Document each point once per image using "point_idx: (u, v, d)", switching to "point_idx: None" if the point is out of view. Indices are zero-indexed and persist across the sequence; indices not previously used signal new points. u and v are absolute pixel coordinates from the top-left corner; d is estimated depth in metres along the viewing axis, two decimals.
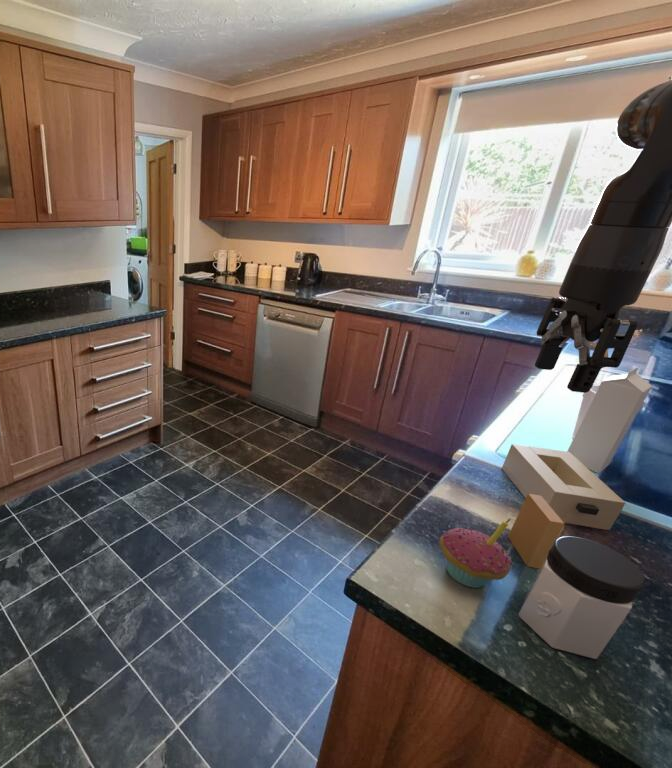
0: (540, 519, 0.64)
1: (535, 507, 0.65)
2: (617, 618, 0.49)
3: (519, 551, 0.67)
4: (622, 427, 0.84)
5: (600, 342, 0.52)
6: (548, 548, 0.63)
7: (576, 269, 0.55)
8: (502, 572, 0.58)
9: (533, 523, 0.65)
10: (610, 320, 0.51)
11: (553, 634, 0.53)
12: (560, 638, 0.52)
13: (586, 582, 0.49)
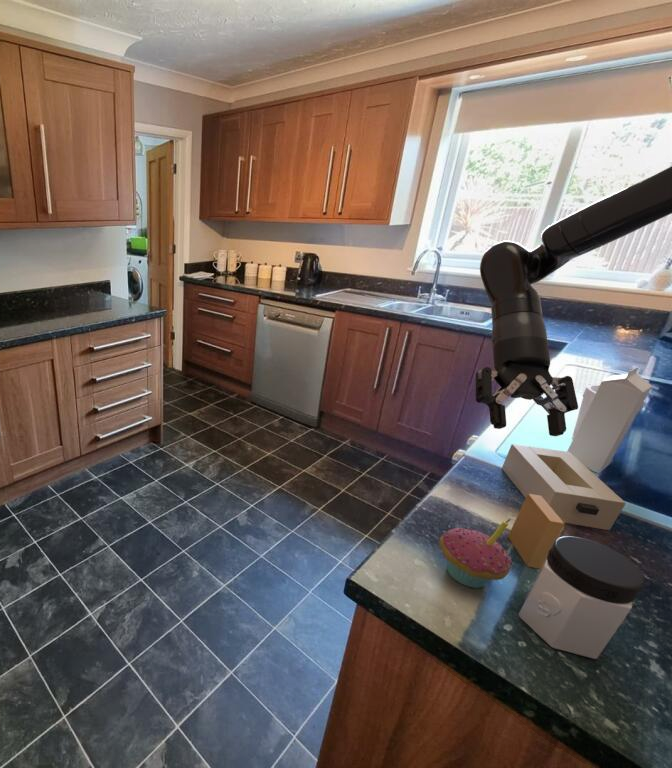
0: (540, 519, 0.64)
1: (535, 507, 0.65)
2: (617, 618, 0.49)
3: (519, 551, 0.67)
4: (622, 427, 0.84)
5: None
6: (548, 548, 0.63)
7: None
8: (502, 572, 0.58)
9: (533, 523, 0.65)
10: None
11: (553, 634, 0.53)
12: (560, 638, 0.52)
13: (586, 582, 0.49)
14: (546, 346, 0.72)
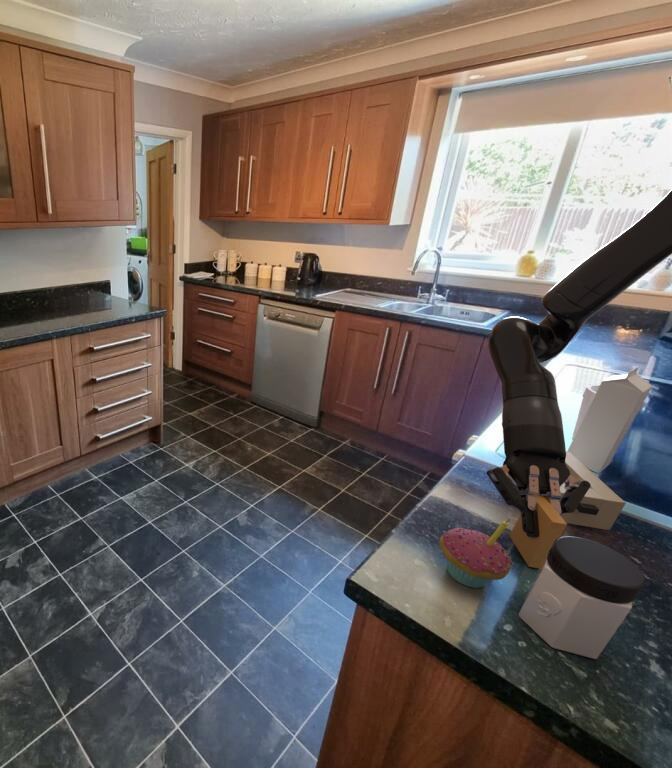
0: (542, 519, 0.63)
1: (538, 507, 0.64)
2: (617, 618, 0.49)
3: (521, 551, 0.67)
4: (622, 427, 0.84)
5: None
6: None
7: None
8: (502, 572, 0.58)
9: None
10: None
11: (553, 634, 0.53)
12: (560, 638, 0.52)
13: (586, 582, 0.49)
14: (561, 436, 0.66)
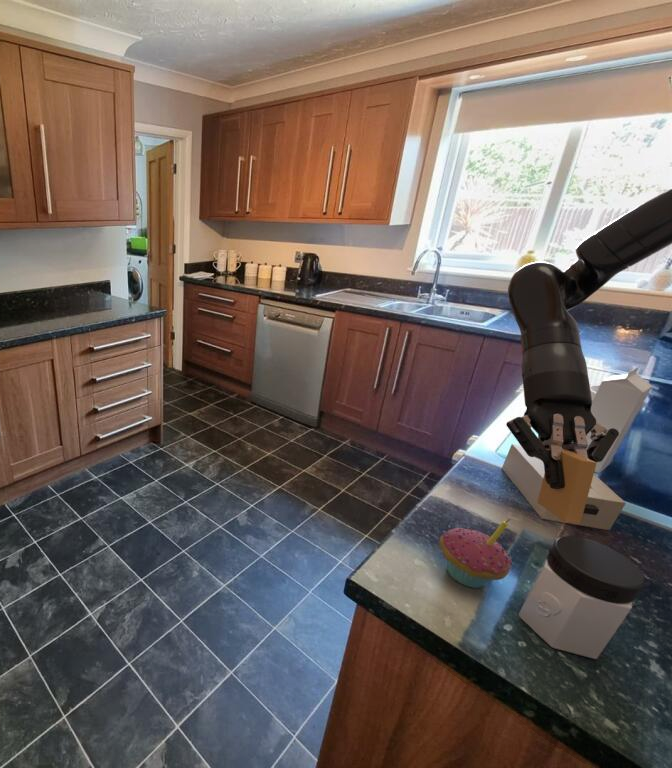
0: (569, 464, 0.59)
1: (562, 455, 0.61)
2: (617, 618, 0.49)
3: (553, 510, 0.61)
4: (622, 427, 0.84)
5: None
6: (584, 496, 0.58)
7: None
8: (502, 572, 0.58)
9: None
10: None
11: (553, 634, 0.53)
12: (560, 638, 0.52)
13: (586, 582, 0.49)
14: (586, 382, 0.62)
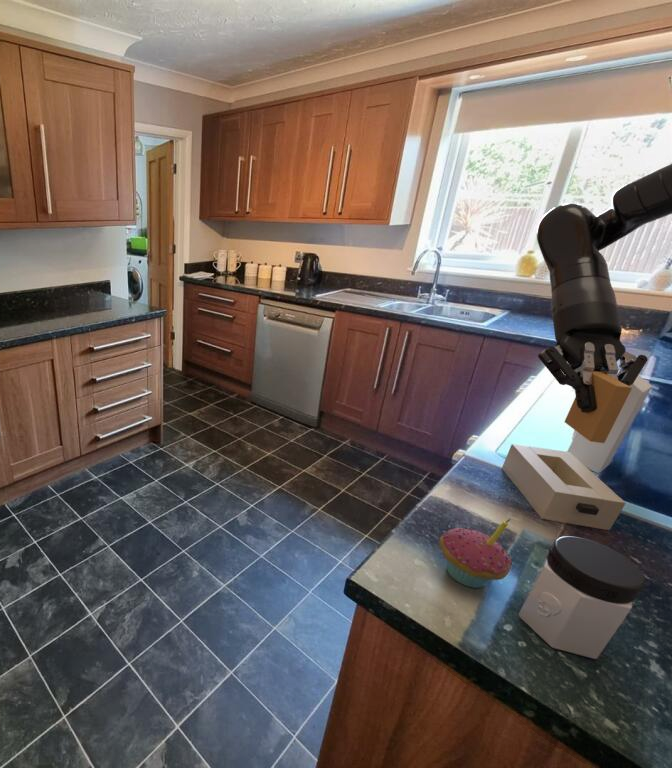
0: (604, 389, 0.62)
1: (597, 379, 0.63)
2: (617, 618, 0.49)
3: (579, 430, 0.65)
4: (622, 427, 0.84)
5: None
6: (613, 418, 0.61)
7: None
8: (502, 572, 0.58)
9: None
10: None
11: (553, 634, 0.53)
12: (560, 638, 0.52)
13: (586, 582, 0.49)
14: (616, 312, 0.65)
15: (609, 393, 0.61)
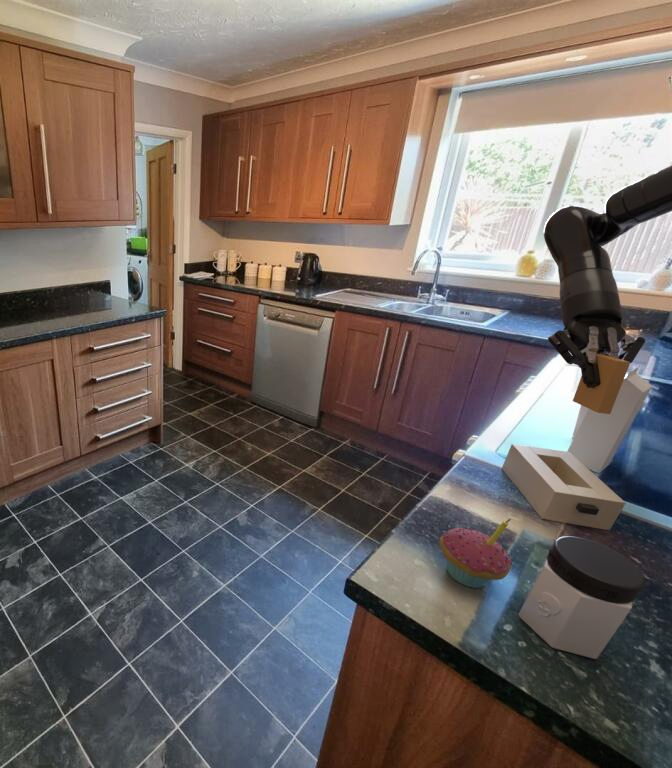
0: (606, 365, 0.70)
1: (599, 358, 0.72)
2: (617, 618, 0.49)
3: (587, 405, 0.73)
4: (622, 427, 0.84)
5: None
6: (616, 390, 0.70)
7: None
8: (502, 572, 0.58)
9: (599, 373, 0.72)
10: None
11: (553, 634, 0.53)
12: (560, 638, 0.52)
13: (586, 582, 0.49)
14: (617, 299, 0.74)
15: (611, 368, 0.69)
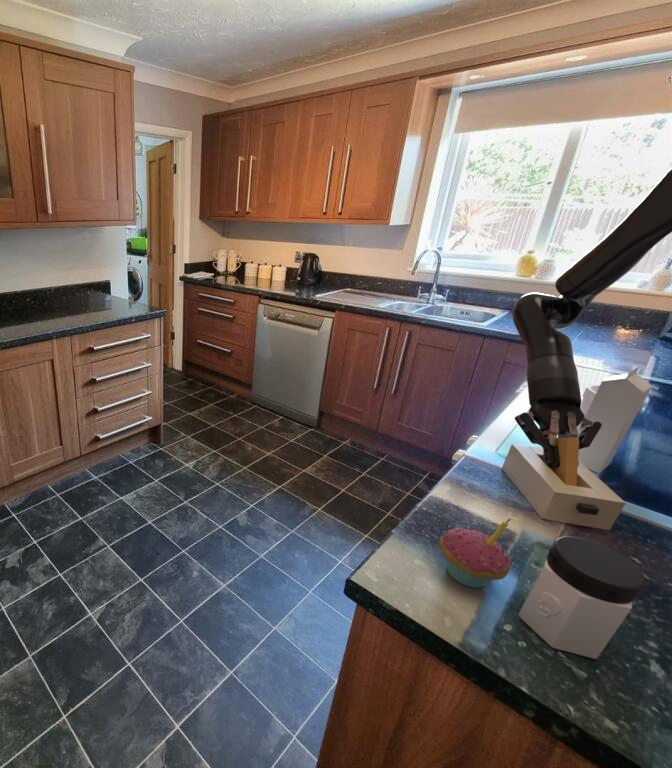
0: (560, 444, 0.79)
1: None
2: (617, 618, 0.49)
3: None
4: (622, 427, 0.84)
5: None
6: (575, 465, 0.76)
7: None
8: (502, 572, 0.58)
9: None
10: None
11: (553, 634, 0.53)
12: (560, 638, 0.52)
13: (586, 582, 0.49)
14: (577, 386, 0.81)
15: (564, 445, 0.78)
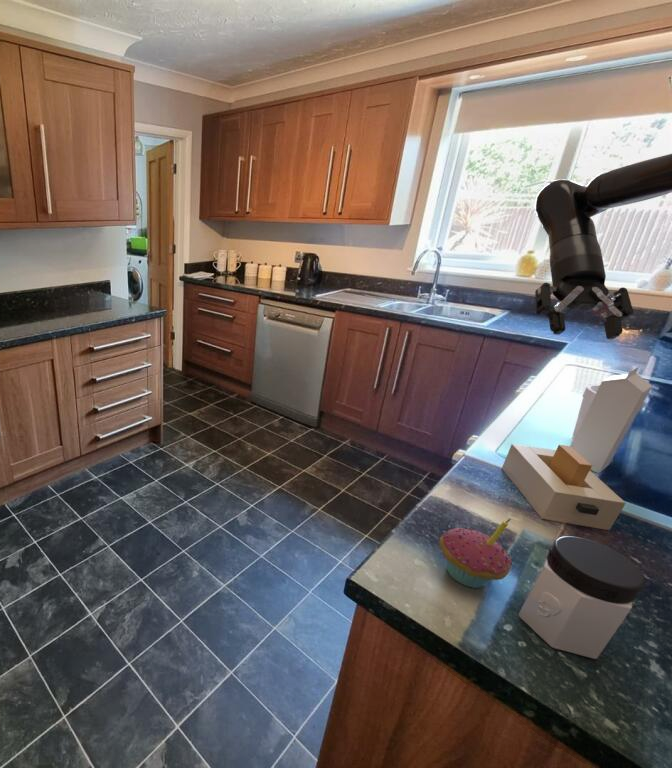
0: (570, 464, 0.75)
1: (566, 454, 0.77)
2: (617, 618, 0.49)
3: None
4: (622, 427, 0.84)
5: None
6: None
7: None
8: (502, 572, 0.58)
9: (564, 468, 0.77)
10: None
11: (553, 634, 0.53)
12: (560, 638, 0.52)
13: (586, 582, 0.49)
14: (601, 262, 0.81)
15: (574, 468, 0.75)
